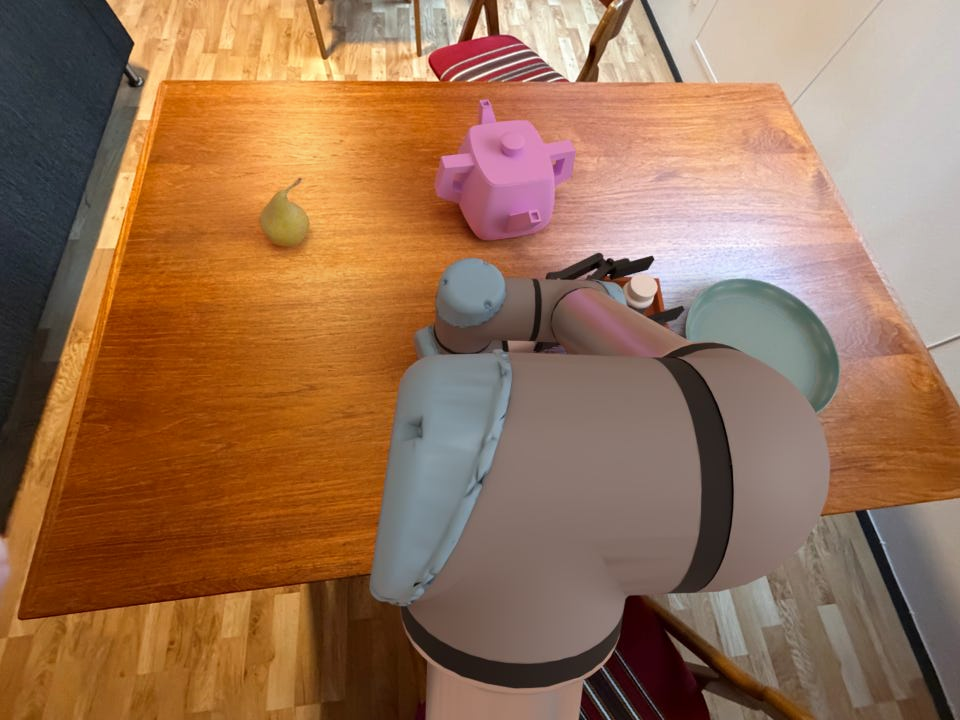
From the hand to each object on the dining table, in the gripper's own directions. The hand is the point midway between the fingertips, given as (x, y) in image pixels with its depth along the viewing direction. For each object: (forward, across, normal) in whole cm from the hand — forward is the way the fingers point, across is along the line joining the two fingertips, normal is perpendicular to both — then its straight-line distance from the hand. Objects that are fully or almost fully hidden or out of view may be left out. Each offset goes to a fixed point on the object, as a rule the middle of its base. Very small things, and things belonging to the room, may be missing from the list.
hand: (664, 287), depth 81 cm
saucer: (+12, +12, -6) cm, 19 cm away
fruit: (-49, -29, -6) cm, 58 cm away
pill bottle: (-5, 0, -6) cm, 8 cm away
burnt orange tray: (-5, 0, -6) cm, 8 cm away
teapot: (-16, -25, -6) cm, 30 cm away
